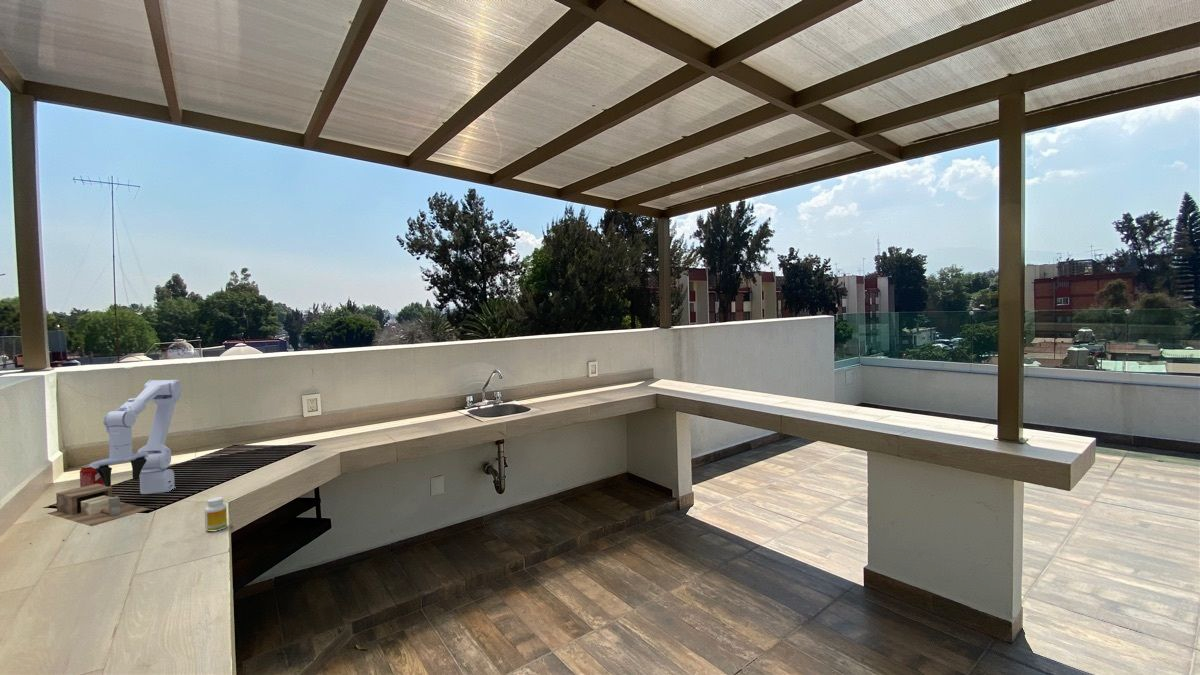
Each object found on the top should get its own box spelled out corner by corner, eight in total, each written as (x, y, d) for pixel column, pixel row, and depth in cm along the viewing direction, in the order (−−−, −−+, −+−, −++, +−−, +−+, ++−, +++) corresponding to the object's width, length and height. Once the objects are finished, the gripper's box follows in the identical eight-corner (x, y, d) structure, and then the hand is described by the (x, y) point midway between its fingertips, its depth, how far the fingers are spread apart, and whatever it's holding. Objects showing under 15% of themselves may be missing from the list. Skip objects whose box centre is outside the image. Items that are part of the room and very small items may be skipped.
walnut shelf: (46, 516, 163) (45, 495, 162) (105, 500, 177) (104, 481, 176) (91, 529, 152) (91, 506, 152) (150, 511, 166) (149, 491, 166)
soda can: (89, 499, 178) (88, 467, 177) (75, 498, 179) (74, 466, 178) (111, 493, 184) (110, 462, 184) (97, 491, 186) (96, 461, 185)
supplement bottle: (230, 527, 154) (229, 497, 154) (211, 533, 150) (210, 503, 149) (221, 524, 157) (220, 494, 156) (201, 530, 152) (200, 500, 152)
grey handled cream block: (81, 513, 163) (80, 495, 163) (104, 506, 168) (103, 489, 168) (104, 519, 158) (103, 501, 158) (127, 512, 164) (127, 495, 163)
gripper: (99, 451, 160) (101, 491, 160) (152, 440, 173) (154, 477, 174) (88, 448, 162) (89, 488, 163) (141, 439, 176) (142, 475, 176)
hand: (122, 482), depth 169 cm, fingers open, 7 cm apart
